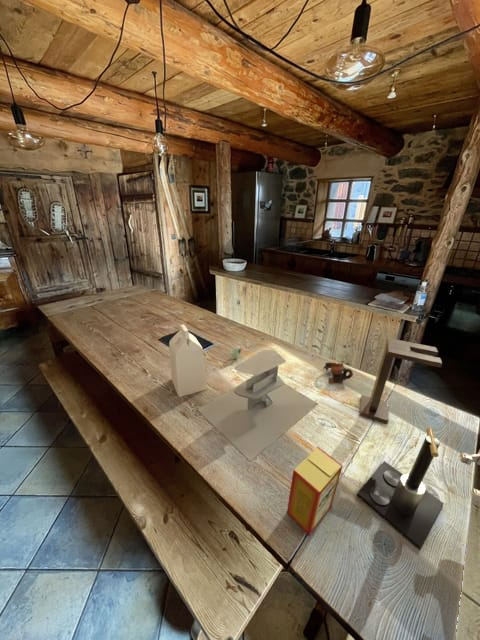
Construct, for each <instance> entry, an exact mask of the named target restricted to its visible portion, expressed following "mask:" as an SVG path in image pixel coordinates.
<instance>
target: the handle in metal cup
mask: <svg viewBox="0 0 480 640" xmlns="http://www.w3.org/2000/svg"><path fill="white" fill-rule="evenodd" d="M440 445H441V442H440V440H439V439H438V438H437V437H435V434H434V430H433V429H432V428H431V427H428V428H426V436H425V437H424V440H423V442H422V444H421V447H420V449H419V451H418V454H417V456H416V458H415V460H414V462H413V464H412V467H411V469H410V472H409V473H402V474H403V475H401V477H400V480H399V482H398V484H397V487H396V489H395V491H394V494H393V496H392V502H393V504H394V506H395V507H396V508H397V509H398V510H399V511H400V512H401V513H403V514H406V515H413V514H414V513H415V511H416V509H417V507H418V505H419V503H420V501H421V499H422V497H423V495H424V493H425V490H426V486H425V484H424V483H423V480H424V479H425V476H426V474H427V472H428V470H429V468H430V466H431V464H432V462H433V459H434V458H438V457H439V456H440V455H439V451H438V449H439V447H440Z"/></svg>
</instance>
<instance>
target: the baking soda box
mask: <svg viewBox="0 0 480 640" xmlns="http://www.w3.org/2000/svg"><path fill="white" fill-rule="evenodd" d="M342 469H343V464H341V462H339V461H338V460H336V459H335V458H334V457H332V456H331V455H330V454H329V453H327V452H326V451H325V450H323V449H322V448H320V447H319V446H317V447H315V449H313V450H312V451H311V453H309V455H308V456H307V457H305V459H304V460H302V462H300V463H299V464H298V465H297V466H296V467H295V468H294V469H293V471H292V476H291V483H290V490H289V497H288V503H287V509H286V513H287V514H288V515H289V516H290V517H291V518H292V520H293V521H294V522H296V524H297V525H298V526H299V527H300V528H301V529H302V530H303V531H304V532H305V533H306V534H307V535H308V536H310V535H311V534H312V532H314V530H315V529H316V528H317V526H318V525H319V523H320V522H321V521H322V519H323V518H324V517H325V516H326V515H327V513H328V512H329V511H330V509H331V508H332V506H333V501H334V498H335V494H336V492H337V488H338V483H339V480H340V477H341V472H342Z"/></svg>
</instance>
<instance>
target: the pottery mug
mask: <svg viewBox="0 0 480 640" xmlns="http://www.w3.org/2000/svg"><path fill="white" fill-rule="evenodd" d="M329 369H330V373H331V374H332V377H328V379H327V380H328V383H329V384H336V385H341V384H343V383H344V381H346V380H350V379H351V378H353V376H354V374H353V370H352V369H350V368H346V367H345V366H344V363H342V362H338V363H336V362H325V365H324V366H323V368H322V370H325V371H329ZM347 373H348V375H347Z"/></svg>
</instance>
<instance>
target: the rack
mask: <svg viewBox="0 0 480 640" xmlns="http://www.w3.org/2000/svg"><path fill="white" fill-rule="evenodd" d="M438 354H439V351H438V348H437V347H436V346H431V345H426V344H421V343H416V342H411V341H405V340H400V339H396V338H390V337H387V338H386V344H385V347H384V351H383V354H382V356H381V357H382V358H381V360H380V364H379V368H378V372H377V375H376V378H375V380H374V385H373V388H372V391H371V395H370V396H367V395H363V394H361V396H360V404H359V405H360V408H359V416H361V417H364V418H367V419H371V420H374V421H377V422H381V423H383V424H387V425H388V423H389V421H390V419H389V402H388V401H385V400H382V396H383V392H384V390H385V388H386V387H385V386H386V384H387V380H388V377H389V373H390V371H391V367H392V364H393V361H394V358H396V359H399V360H403V361H409V362H414V363H418V364H422V365H427V366H432V367H436V368H442V367H443V362H442V358H441V357H438Z"/></svg>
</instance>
